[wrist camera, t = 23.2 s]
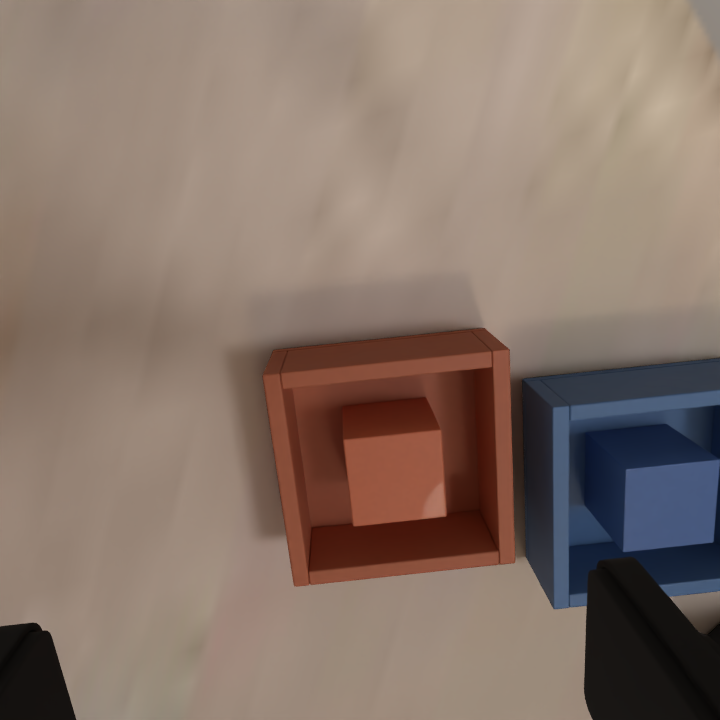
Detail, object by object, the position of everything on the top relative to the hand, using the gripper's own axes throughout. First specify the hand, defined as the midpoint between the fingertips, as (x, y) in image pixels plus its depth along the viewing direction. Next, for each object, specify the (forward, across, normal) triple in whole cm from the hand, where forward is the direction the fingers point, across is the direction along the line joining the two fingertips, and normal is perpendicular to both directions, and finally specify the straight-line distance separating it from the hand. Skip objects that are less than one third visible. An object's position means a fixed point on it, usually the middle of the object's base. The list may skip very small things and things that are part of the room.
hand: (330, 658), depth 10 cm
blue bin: (+20, -16, +8) cm, 27 cm away
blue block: (+20, -16, +8) cm, 26 cm away
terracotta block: (+20, -3, +5) cm, 21 cm away
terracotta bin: (+20, -3, +5) cm, 21 cm away
